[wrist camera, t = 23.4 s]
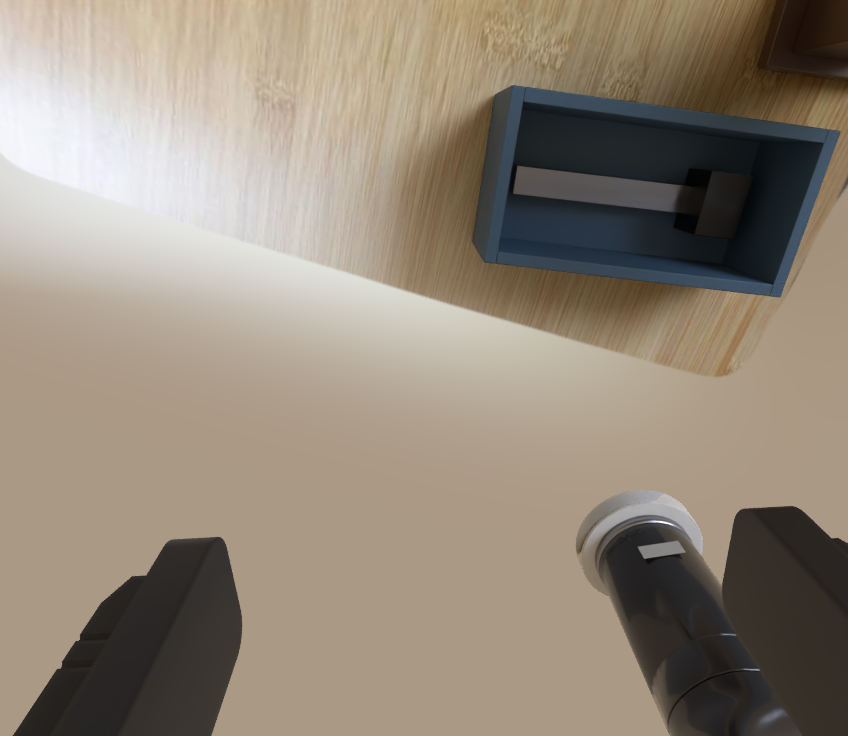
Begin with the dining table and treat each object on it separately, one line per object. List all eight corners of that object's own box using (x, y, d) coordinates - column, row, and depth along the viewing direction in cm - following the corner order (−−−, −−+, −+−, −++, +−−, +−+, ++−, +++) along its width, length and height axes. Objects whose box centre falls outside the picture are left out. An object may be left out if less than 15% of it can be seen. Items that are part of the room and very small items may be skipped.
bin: (767, 132, 42) (841, 131, 35) (722, 272, 46) (780, 297, 39) (494, 94, 41) (512, 85, 34) (472, 242, 45) (483, 262, 38)
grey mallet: (727, 172, 43) (754, 175, 39) (710, 231, 44) (734, 239, 41) (516, 147, 42) (525, 147, 38) (506, 208, 43) (514, 214, 40)
